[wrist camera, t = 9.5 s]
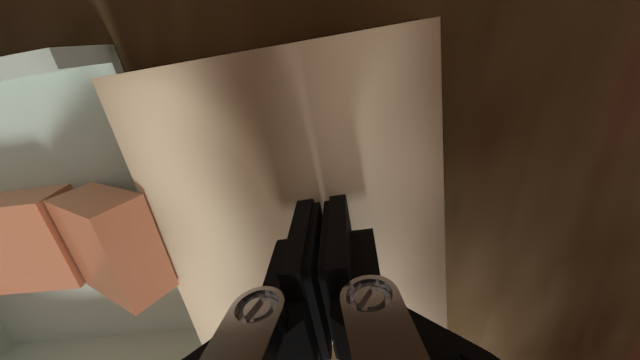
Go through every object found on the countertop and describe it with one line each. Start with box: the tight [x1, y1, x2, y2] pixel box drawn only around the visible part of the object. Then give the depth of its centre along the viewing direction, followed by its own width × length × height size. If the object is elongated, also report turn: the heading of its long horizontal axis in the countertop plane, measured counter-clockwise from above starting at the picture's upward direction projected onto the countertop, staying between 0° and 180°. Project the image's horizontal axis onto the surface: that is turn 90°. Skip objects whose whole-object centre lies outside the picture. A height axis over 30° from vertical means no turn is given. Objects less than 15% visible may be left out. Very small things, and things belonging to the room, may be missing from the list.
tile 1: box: [43, 182, 179, 316], centre depth 13 cm, size 4×4×2 cm
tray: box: [0, 44, 202, 360], centre depth 14 cm, size 12×14×3 cm
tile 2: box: [0, 183, 86, 295], centre depth 14 cm, size 4×4×2 cm
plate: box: [91, 17, 447, 345], centre depth 13 cm, size 10×12×2 cm
